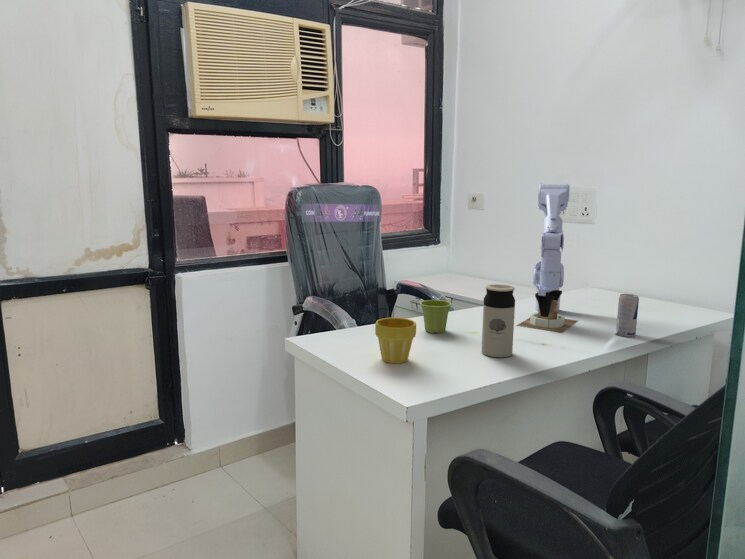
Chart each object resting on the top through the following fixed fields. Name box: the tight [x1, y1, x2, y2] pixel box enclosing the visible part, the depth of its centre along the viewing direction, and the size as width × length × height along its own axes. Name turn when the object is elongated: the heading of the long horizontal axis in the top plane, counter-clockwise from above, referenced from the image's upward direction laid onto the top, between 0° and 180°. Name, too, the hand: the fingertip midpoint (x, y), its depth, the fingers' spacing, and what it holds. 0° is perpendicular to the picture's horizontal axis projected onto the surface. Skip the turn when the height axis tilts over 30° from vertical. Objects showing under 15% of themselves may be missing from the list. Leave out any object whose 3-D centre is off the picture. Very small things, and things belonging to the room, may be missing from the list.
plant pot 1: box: [374, 317, 417, 364], centre depth 139 cm, size 10×10×10 cm
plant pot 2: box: [419, 299, 452, 334], centre depth 166 cm, size 9×9×9 cm
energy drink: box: [615, 293, 640, 338], centre depth 163 cm, size 5×5×12 cm
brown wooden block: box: [537, 300, 558, 320], centre depth 172 cm, size 4×4×6 cm
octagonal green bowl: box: [529, 312, 566, 328], centre depth 172 cm, size 10×10×2 cm
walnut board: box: [515, 317, 579, 334], centre depth 173 cm, size 18×14×1 cm
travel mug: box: [481, 283, 516, 358], centre depth 144 cm, size 8×8×18 cm
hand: (547, 314), depth 172 cm, fingers closed on brown wooden block, 5 cm apart
